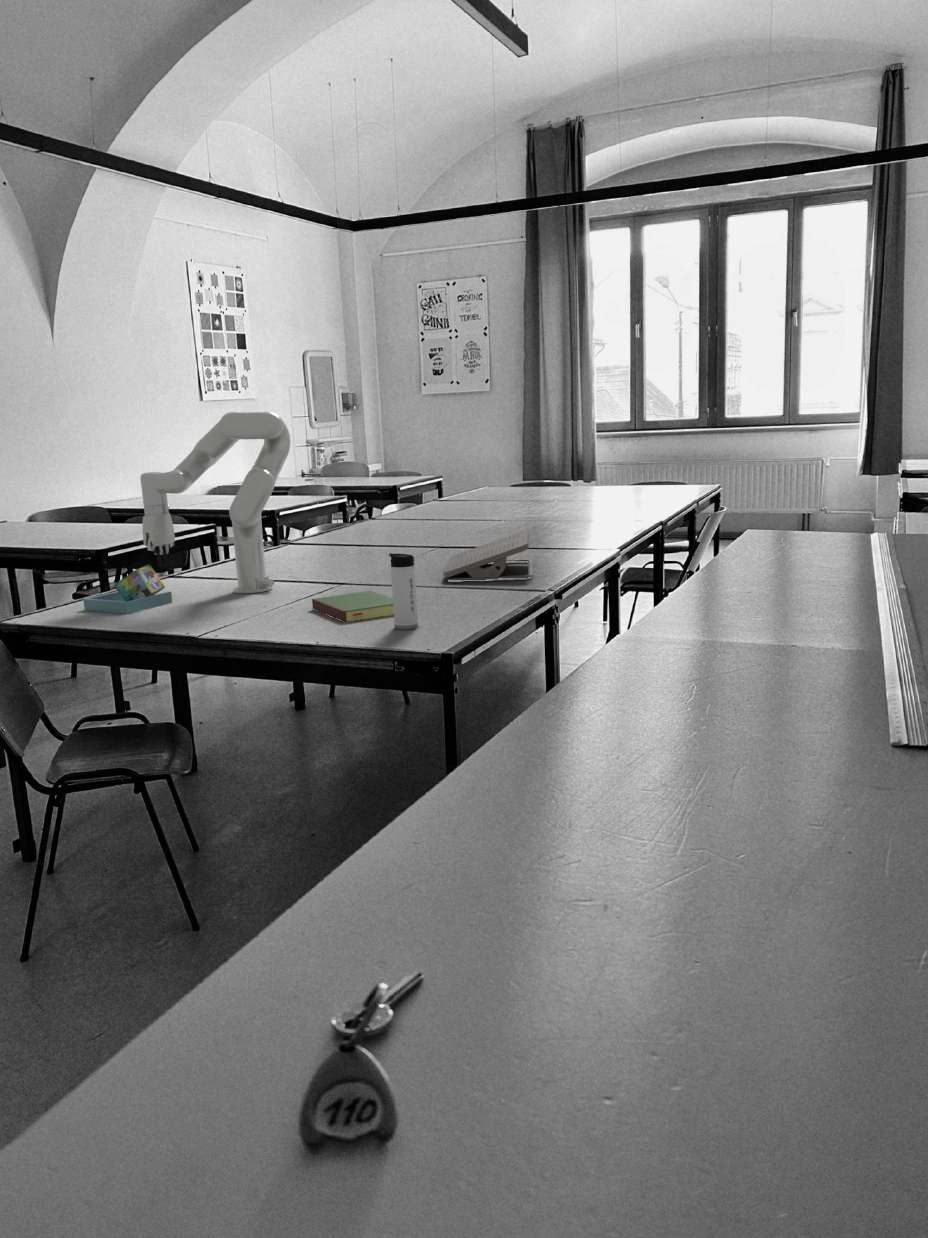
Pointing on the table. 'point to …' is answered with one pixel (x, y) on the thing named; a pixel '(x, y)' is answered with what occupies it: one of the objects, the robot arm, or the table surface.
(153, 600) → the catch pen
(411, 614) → the travel mug
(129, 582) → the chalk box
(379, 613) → the hardcover book
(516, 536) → the foot rest
